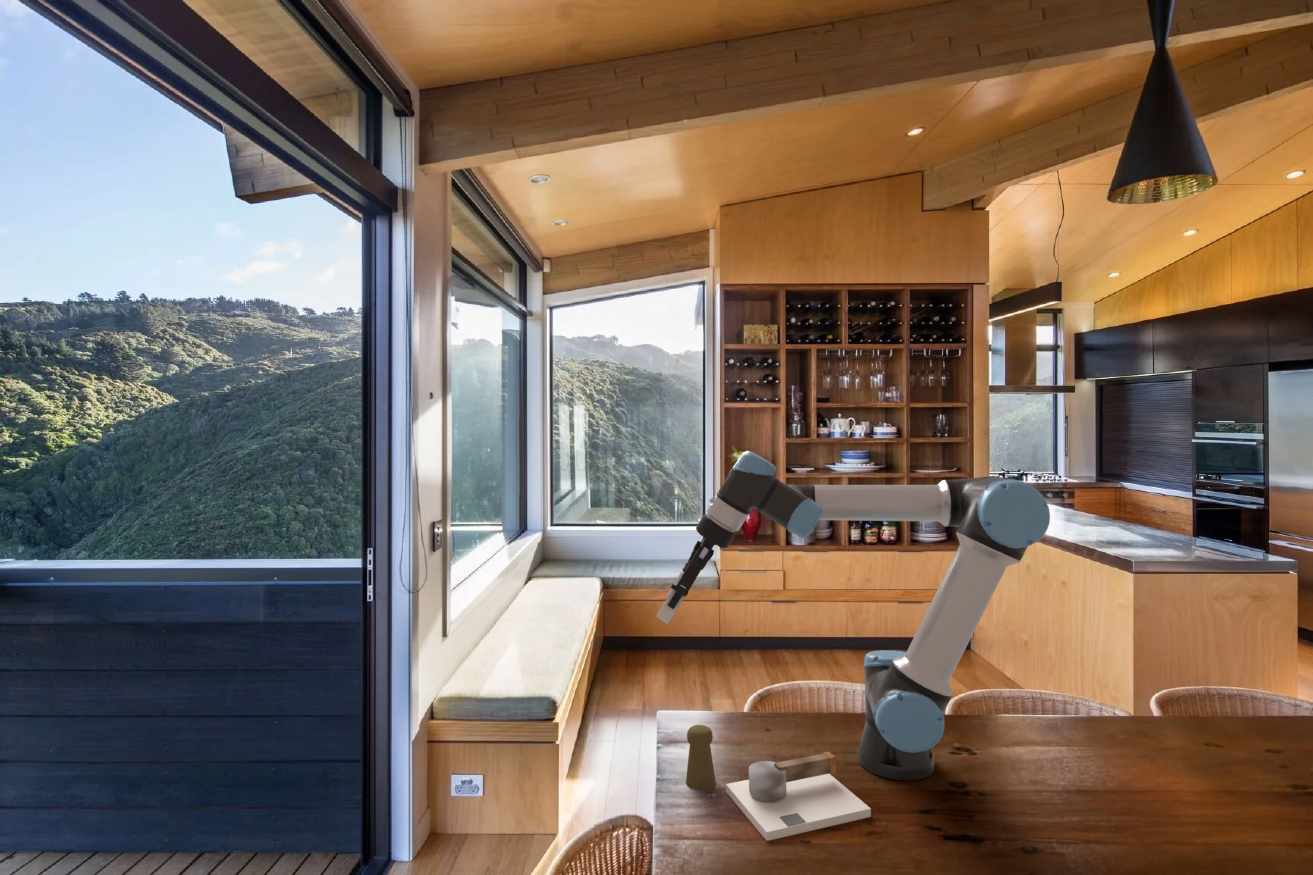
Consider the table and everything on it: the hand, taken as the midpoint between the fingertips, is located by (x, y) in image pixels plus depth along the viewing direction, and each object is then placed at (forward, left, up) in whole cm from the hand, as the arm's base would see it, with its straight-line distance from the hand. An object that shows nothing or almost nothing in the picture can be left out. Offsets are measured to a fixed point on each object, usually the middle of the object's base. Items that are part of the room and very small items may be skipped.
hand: (666, 610), depth 136 cm
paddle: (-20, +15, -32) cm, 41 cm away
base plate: (-19, +17, -34) cm, 43 cm away
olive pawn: (-5, +4, -35) cm, 35 cm away
